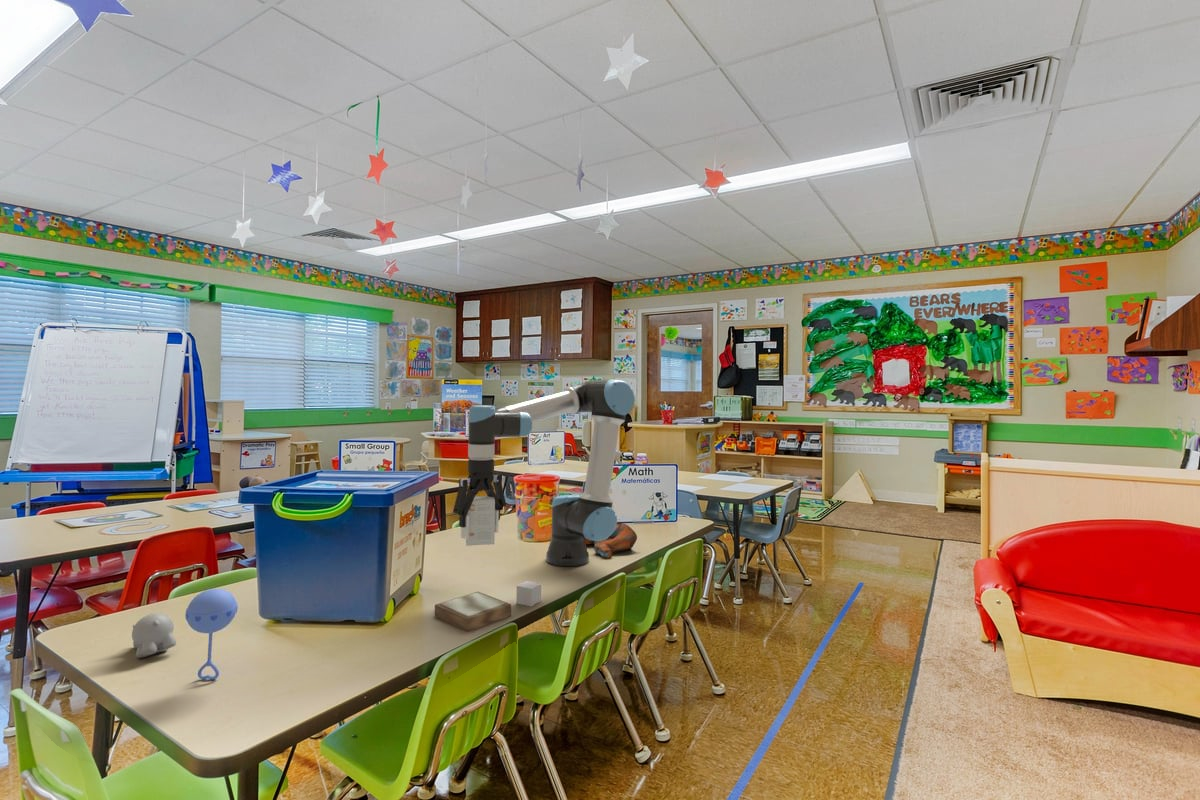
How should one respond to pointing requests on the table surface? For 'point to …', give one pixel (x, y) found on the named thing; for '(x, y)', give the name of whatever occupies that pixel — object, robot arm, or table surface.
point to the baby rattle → (211, 618)
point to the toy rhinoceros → (153, 634)
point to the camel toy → (615, 541)
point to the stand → (472, 610)
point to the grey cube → (528, 593)
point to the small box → (481, 521)
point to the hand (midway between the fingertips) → (480, 534)
